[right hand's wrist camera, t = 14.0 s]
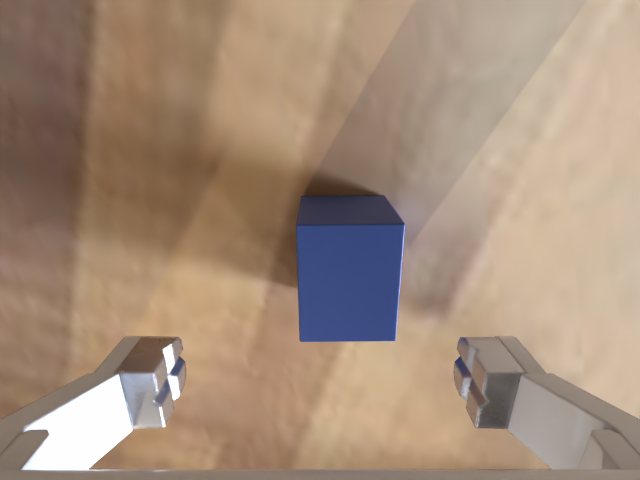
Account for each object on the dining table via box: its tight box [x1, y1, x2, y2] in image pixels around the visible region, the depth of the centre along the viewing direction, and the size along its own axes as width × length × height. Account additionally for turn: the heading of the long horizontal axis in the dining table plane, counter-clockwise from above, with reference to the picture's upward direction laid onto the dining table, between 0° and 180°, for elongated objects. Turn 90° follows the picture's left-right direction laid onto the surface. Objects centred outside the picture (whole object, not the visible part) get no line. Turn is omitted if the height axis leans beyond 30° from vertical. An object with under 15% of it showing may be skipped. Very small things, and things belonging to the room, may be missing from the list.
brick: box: [296, 195, 405, 342], centre depth 16 cm, size 4×5×4 cm
